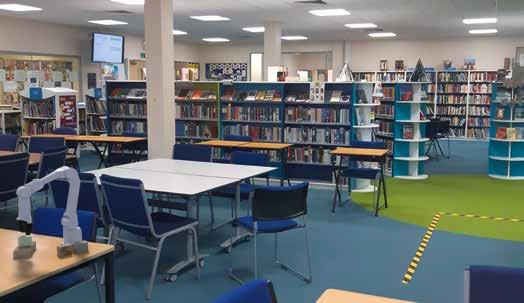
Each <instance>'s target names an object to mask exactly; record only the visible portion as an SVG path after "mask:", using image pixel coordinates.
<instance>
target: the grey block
mask: <svg viewBox="0 0 524 303" xmlns="http://www.w3.org/2000/svg"><path fill="white" fill-rule="evenodd" d="M73 246H74V247H73V248H74V252H75V253H76V254H79V253H80V254H81V253H85V252H89V241H87V240H82V241H80V242H75V243H74V245H73Z"/></svg>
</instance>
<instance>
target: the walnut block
mask: <svg viewBox="0 0 524 303" xmlns="http://www.w3.org/2000/svg"><path fill="white" fill-rule="evenodd" d="M56 255H57V256H59V257H64V256H68V255H72V245H70V244H68V243H67V244H60V245H59V244H58V245H56Z"/></svg>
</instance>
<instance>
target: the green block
mask: <svg viewBox="0 0 524 303" xmlns="http://www.w3.org/2000/svg"><path fill="white" fill-rule="evenodd" d="M32 241H33V237H32V234H31V235H28V236H26V234H25V235H18V236H17V242H18V243H17V246H19V247H25V246H31V245H32Z"/></svg>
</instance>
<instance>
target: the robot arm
mask: <svg viewBox="0 0 524 303" xmlns="http://www.w3.org/2000/svg"><path fill="white" fill-rule="evenodd" d="M78 173H79V172H78V171H77V170H76V169H75V168H73V167H69V166H67V165H64V166H61V167H59V168H56V170H54V171H52V172H50V173H49V174H47V175H46V176H43V177H42V178H40V179H39V178H33V179H32V181H30V182H28V183H25V184H24V185H22V186H19V187H18V188H17V189H16V191H15V194H16V196H17V204H18V205H17V206H18V207H17V208H18V217H16V221H15V222H16V223H17V224H18V226H19V231H20V233H21V234H22V233H23V234H24V233H25V235H26V236H28V235H31V236H32V229H33V226H34V225H35V222H34V221H32V215H31V213H32V211H31V198H30V197H31V195H32V194H34V193H36V192H38V191H39V190H41V189H43V188H44V185H46V184H48V183H50V182H52V181H54V180H56V179H65V180H66V181H67V182H68V183H69V188H68V190H69V191H68V195H67V203H66V208H65V209H66V210H65V212H64V213H63V216H62V218H61V220H60V222H61V223H60V224H61V225H62V234H63V235H62V236H63V238H62V239H63V241H62V242H60V245H62V244H67V243H68V244H70V245H71V246H74V243H75V242H80V241H83V234H82V233H83V232H82V229H81V227H80V226H78V225H79V221H78V220H79V219H78V214H77V207H78V200H79V193H80V186H81V179H80V177H79V176H80V175H79V174H78Z"/></svg>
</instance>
